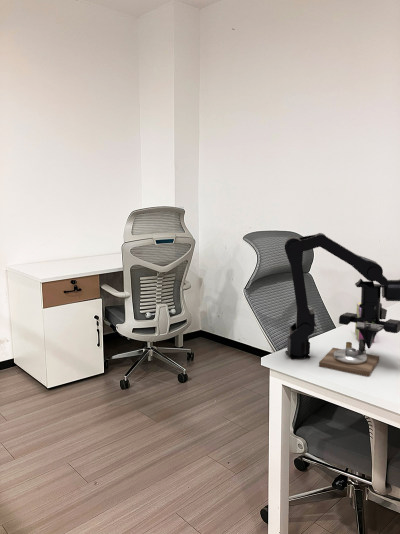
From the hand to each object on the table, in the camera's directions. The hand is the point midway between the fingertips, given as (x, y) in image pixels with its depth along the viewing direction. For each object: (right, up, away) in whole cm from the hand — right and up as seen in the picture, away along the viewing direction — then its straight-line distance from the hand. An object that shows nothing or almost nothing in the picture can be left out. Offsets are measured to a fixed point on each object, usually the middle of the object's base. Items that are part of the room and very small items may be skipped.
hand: (369, 348), depth 150 cm
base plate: (-7, -5, -2) cm, 8 cm away
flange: (-6, -3, -1) cm, 7 cm away
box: (+7, 0, +23) cm, 24 cm away
